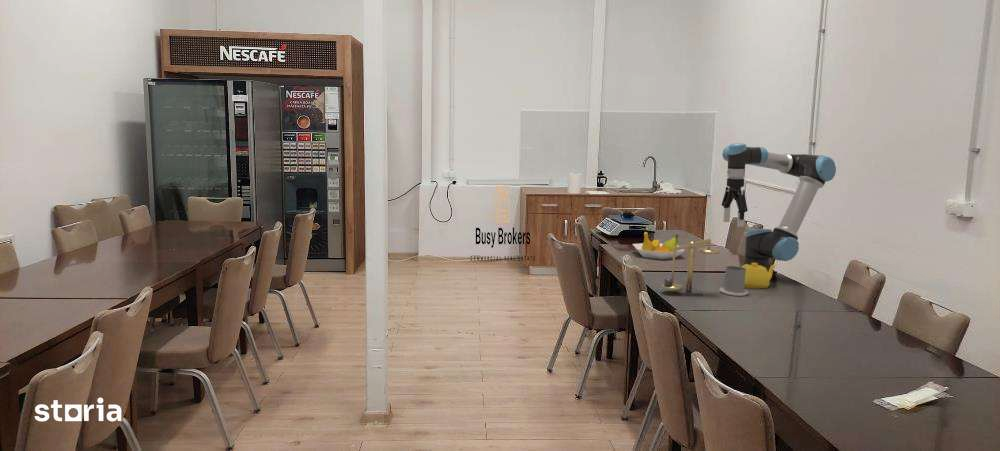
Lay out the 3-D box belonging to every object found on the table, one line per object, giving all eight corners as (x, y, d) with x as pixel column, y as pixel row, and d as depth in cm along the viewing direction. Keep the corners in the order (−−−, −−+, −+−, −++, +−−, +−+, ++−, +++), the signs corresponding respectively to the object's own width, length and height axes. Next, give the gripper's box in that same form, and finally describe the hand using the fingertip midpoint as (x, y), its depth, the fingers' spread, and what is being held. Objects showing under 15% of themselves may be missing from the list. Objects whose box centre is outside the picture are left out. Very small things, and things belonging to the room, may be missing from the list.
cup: (744, 293, 307) (746, 270, 305) (725, 291, 309) (727, 269, 307) (742, 288, 315) (744, 266, 314) (723, 287, 317) (724, 265, 315)
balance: (711, 290, 315) (715, 237, 311) (719, 296, 306) (723, 240, 302) (658, 290, 312) (661, 236, 308) (664, 295, 303) (668, 240, 300)
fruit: (687, 262, 377) (689, 235, 375) (638, 260, 377) (640, 234, 375) (674, 251, 407) (676, 226, 404) (629, 250, 407) (630, 225, 405)
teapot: (765, 281, 337) (767, 259, 335) (782, 289, 322) (784, 266, 320) (721, 281, 335) (723, 258, 333) (735, 289, 320) (737, 265, 318)
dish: (740, 289, 319) (741, 287, 318) (752, 296, 307) (753, 293, 307) (715, 289, 317) (715, 286, 317) (726, 296, 306) (726, 293, 305)
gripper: (715, 175, 331) (713, 220, 334) (741, 180, 307) (738, 229, 310) (730, 175, 332) (728, 219, 335) (757, 180, 308) (754, 228, 311)
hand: (733, 224), depth 323 cm, fingers open, 13 cm apart
